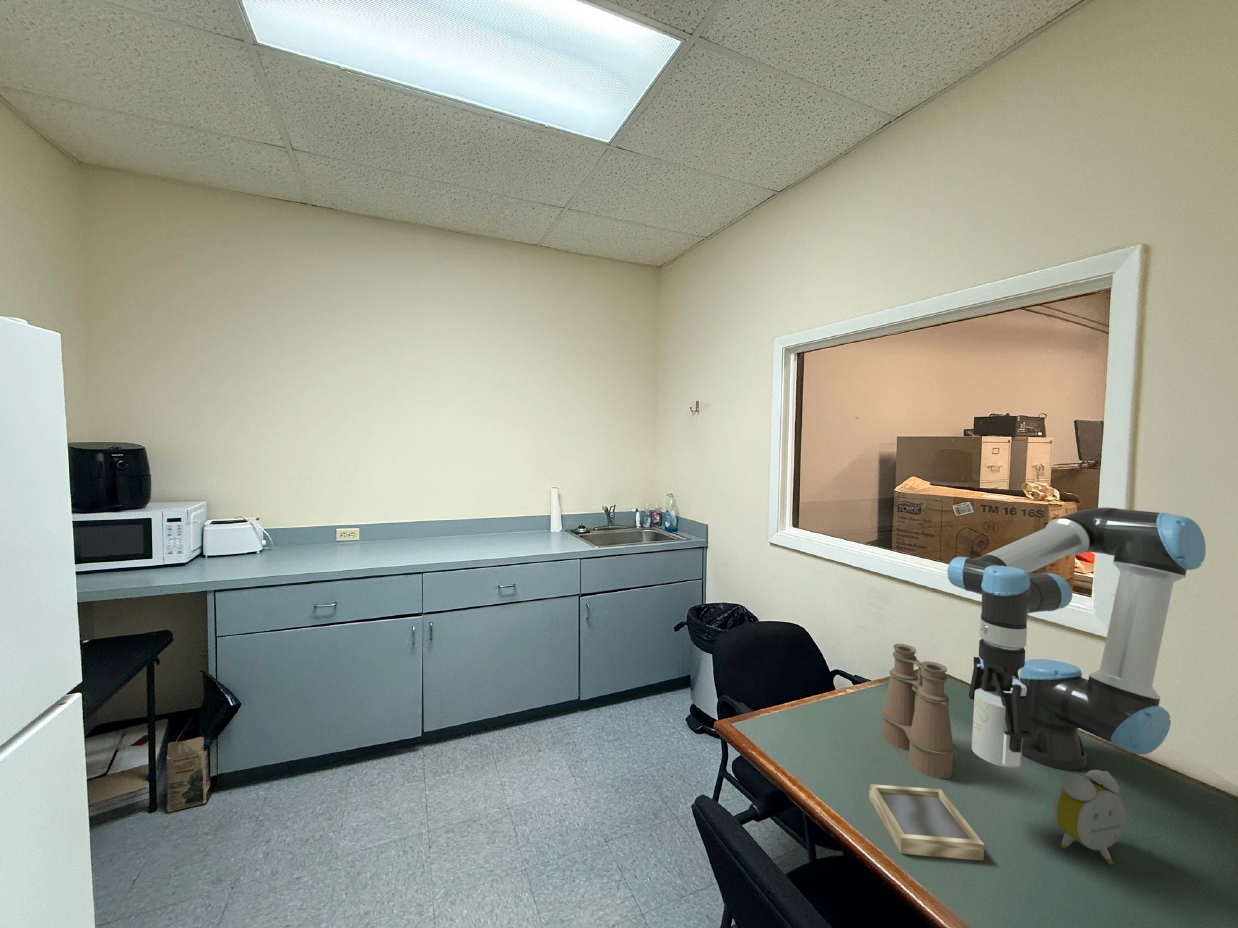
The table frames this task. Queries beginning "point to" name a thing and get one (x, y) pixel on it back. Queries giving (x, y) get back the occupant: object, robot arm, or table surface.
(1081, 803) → the alarm clock
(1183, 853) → the table surface
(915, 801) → the square picture frame
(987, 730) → the white cylinder
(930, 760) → the binoculars
